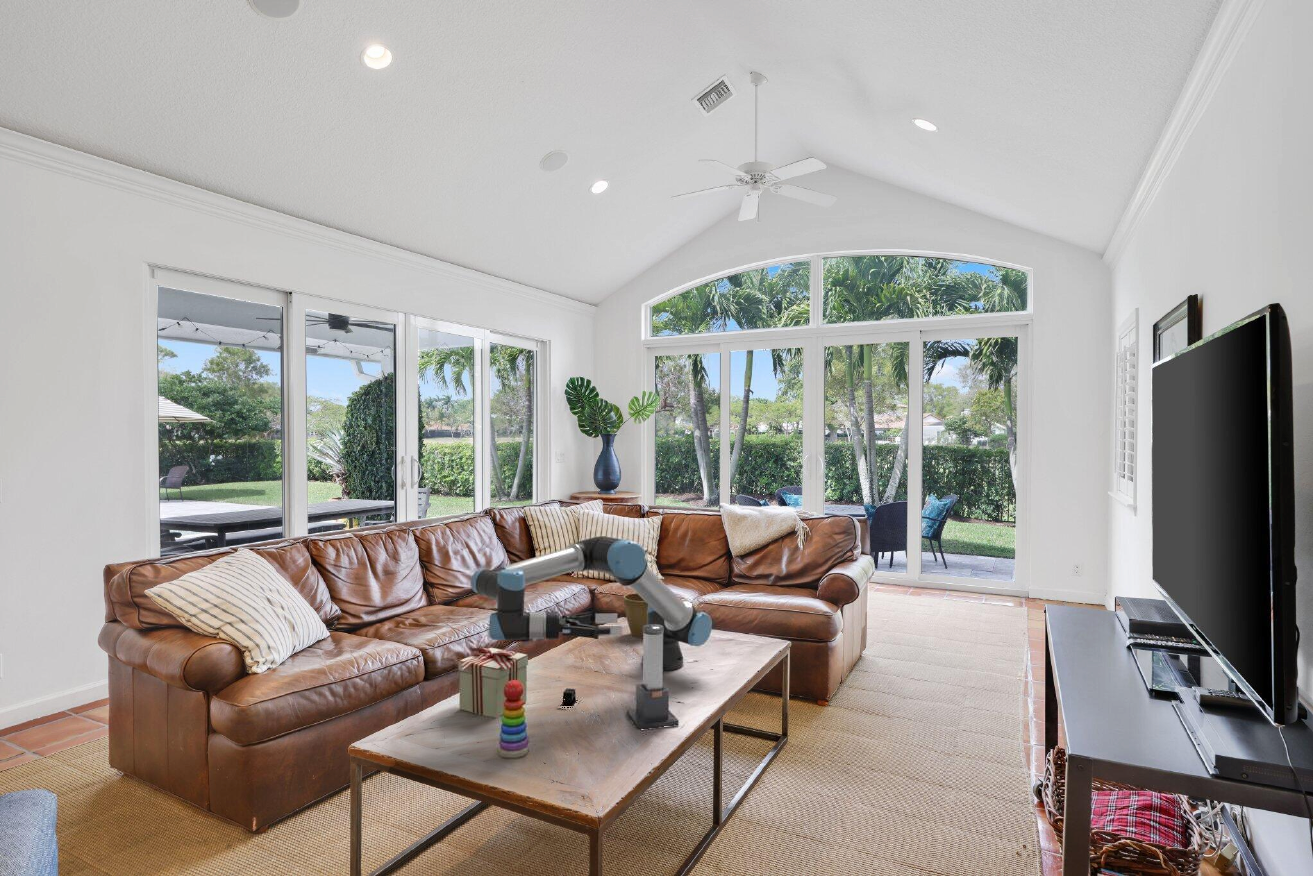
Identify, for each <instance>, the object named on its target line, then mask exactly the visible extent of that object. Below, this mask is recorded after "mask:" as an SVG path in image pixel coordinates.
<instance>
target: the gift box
mask: <svg viewBox="0 0 1313 876" xmlns="http://www.w3.org/2000/svg"><path fill="white" fill-rule="evenodd" d="M471 650H472V652H477V653H474V654H472V655H470V656H468V657H465V658H462V659H460V660H459V661H458V667H457V669H458V672H459V710H460V711H464V712H469V713H472V714H475V715H476V714H477V715H481V716H485V717H489V718H494V719H498V718H500V717H502V716H503V715H504V714H503V710H504V708H505V707H504V701H505V700H506V699H507V698H506V697H505V695H504V687H505V685H506V684H507V683H508V682H509V681H512V680H517V681H519V682H520V683H521V684H522V685H523V689H524V691H523V694H522V696H521V697H520V698H522V699H523V704H525V703H527V680H528V679H527V672H528V671H527V666H528V665H529V655H528V654H525V653H521V652H517V651H515V650H507V649H506V650H505V649H501V648H494V647H489V648H485V647H483V648H482V647H474V648H471Z"/></svg>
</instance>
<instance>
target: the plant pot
mask: <svg viewBox="0 0 1313 876" xmlns="http://www.w3.org/2000/svg"><path fill="white" fill-rule="evenodd" d="M623 605H624V611H625V616H626V621H627V625H628V627H629V631H630V634H631V636H632V637H634V636H636V637H635V638H643V626H644V625H647V610H648V603H647V602H646V601H645V600H643V599H642V598H641V597H640V596H639V595H638V594H637V593H636V592H635V593H628V594H625V595H624V596H623Z"/></svg>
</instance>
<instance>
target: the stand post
mask: <svg viewBox="0 0 1313 876" xmlns="http://www.w3.org/2000/svg"><path fill="white" fill-rule="evenodd" d="M663 632H664V627H663V626H662V625H658V624H648V625H644V626H643V637H642V638H643V641H642V656H643V665H642V684H643V688H644V690H645V691H646V692H647V691H657V690H662V684H663V674H664V673H663V671H664V670H663Z"/></svg>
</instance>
